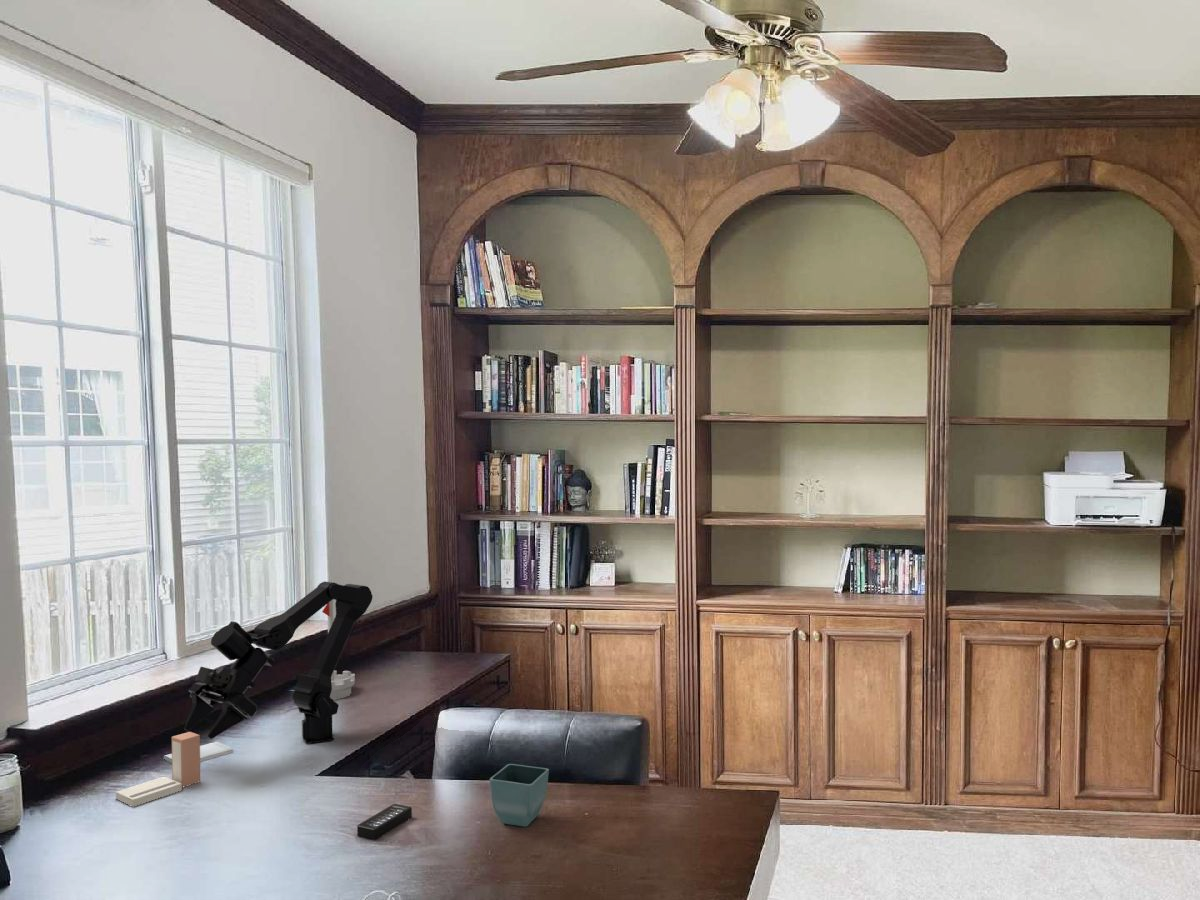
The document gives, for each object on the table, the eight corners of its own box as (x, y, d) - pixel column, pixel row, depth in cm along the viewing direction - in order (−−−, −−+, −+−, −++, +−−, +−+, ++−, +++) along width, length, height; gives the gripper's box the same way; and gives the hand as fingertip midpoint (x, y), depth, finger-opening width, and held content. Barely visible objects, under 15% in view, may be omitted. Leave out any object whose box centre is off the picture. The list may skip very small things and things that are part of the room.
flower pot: (550, 814, 171) (550, 767, 171) (532, 833, 163) (531, 784, 162) (509, 808, 174) (508, 762, 174) (488, 827, 165) (488, 779, 165)
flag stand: (320, 687, 262) (318, 586, 261) (362, 689, 260) (360, 586, 260) (299, 700, 249) (297, 594, 248) (343, 702, 247) (341, 594, 247)
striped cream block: (167, 782, 189) (166, 775, 189) (184, 789, 185) (184, 782, 185) (115, 799, 181) (115, 791, 181) (133, 807, 177) (132, 799, 177)
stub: (190, 777, 192) (189, 731, 192) (200, 781, 190) (199, 735, 190) (172, 783, 189) (171, 736, 189) (182, 787, 186) (181, 740, 186)
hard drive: (179, 763, 198) (233, 747, 208) (163, 755, 203) (216, 740, 213) (179, 770, 198) (233, 754, 208) (163, 762, 203) (216, 747, 213)
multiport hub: (356, 838, 162) (356, 825, 162) (394, 814, 172) (394, 803, 172) (375, 842, 160) (375, 829, 160) (412, 818, 170) (412, 806, 170)
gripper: (196, 646, 201) (148, 706, 192) (244, 657, 190) (195, 721, 181) (229, 673, 207) (183, 733, 198) (276, 685, 196) (231, 749, 188)
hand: (197, 733), depth 191 cm, fingers open, 9 cm apart
